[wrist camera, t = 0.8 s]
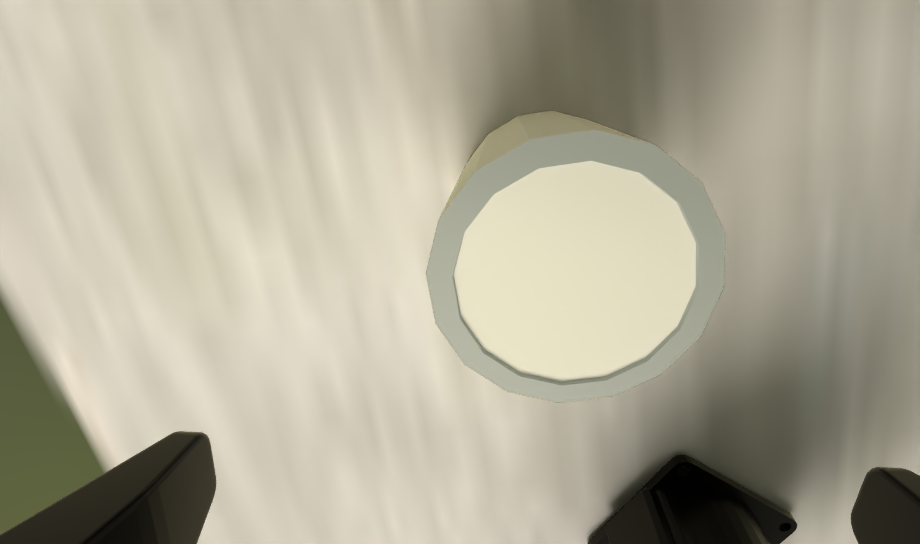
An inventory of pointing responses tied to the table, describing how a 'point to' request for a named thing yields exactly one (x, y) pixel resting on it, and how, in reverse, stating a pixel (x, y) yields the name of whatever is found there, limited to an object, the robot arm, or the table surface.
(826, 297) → the table surface
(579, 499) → the table surface
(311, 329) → the table surface
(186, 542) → the robot arm
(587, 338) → the cream short cylinder
